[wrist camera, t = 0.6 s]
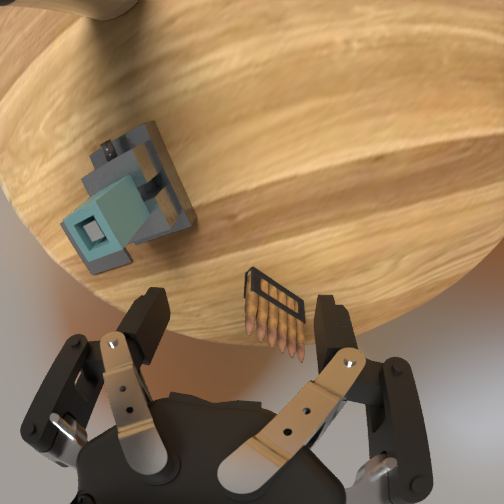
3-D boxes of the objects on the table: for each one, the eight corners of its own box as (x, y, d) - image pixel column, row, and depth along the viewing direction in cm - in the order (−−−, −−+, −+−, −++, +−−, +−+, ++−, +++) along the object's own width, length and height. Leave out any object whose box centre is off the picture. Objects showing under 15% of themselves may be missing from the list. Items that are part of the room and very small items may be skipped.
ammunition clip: (304, 300, 43) (311, 361, 33) (296, 306, 44) (301, 367, 34) (252, 266, 40) (247, 328, 30) (244, 273, 41) (237, 336, 31)
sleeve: (98, 191, 27) (62, 220, 21) (130, 174, 25) (95, 201, 20) (117, 227, 29) (88, 262, 23) (150, 214, 28) (122, 249, 22)
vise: (100, 148, 30) (34, 184, 19) (153, 118, 28) (91, 140, 17) (143, 234, 38) (102, 295, 26) (196, 215, 36) (165, 279, 24)
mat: (61, 222, 37) (60, 223, 36) (98, 201, 35) (96, 202, 34) (93, 273, 43) (92, 275, 42) (132, 260, 40) (131, 262, 40)
